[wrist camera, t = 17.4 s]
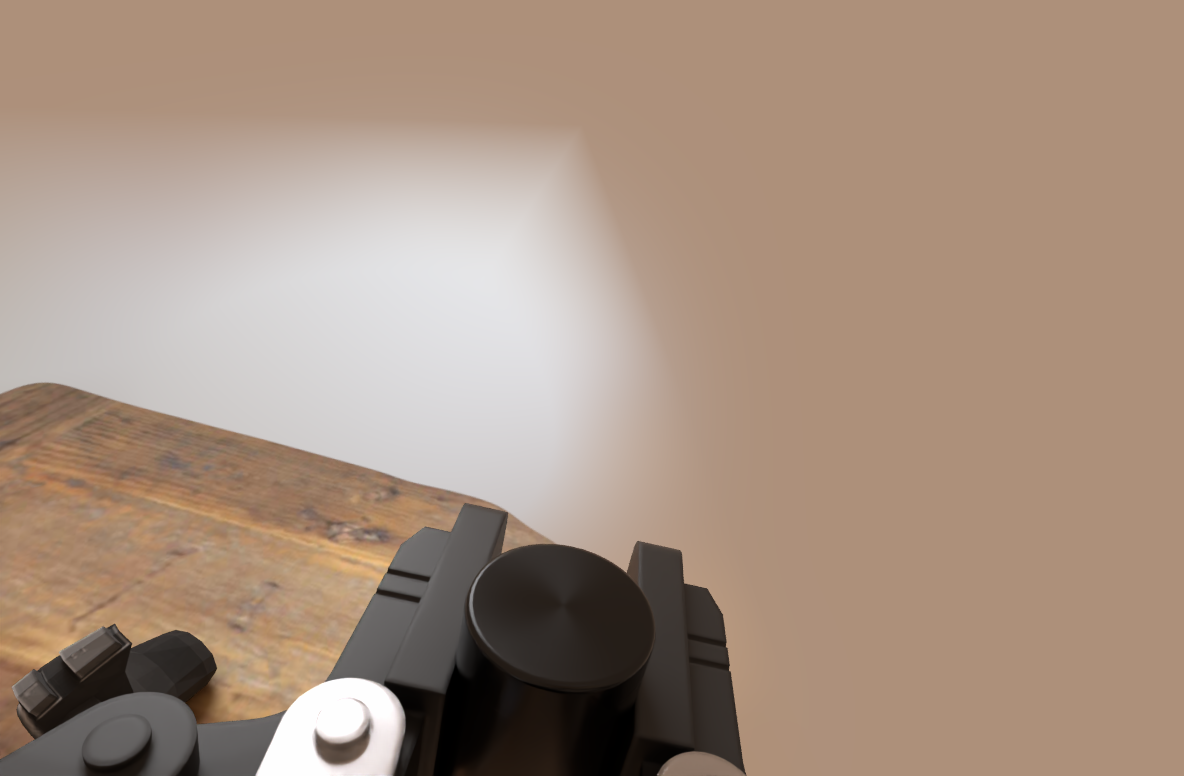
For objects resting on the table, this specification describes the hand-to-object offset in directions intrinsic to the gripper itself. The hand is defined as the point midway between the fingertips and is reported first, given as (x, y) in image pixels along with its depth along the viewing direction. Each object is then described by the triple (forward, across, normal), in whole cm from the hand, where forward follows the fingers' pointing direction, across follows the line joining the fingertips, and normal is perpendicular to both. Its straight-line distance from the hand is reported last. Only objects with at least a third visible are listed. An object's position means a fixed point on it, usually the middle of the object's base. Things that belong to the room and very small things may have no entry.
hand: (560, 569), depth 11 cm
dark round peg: (-3, 0, +18) cm, 18 cm away
